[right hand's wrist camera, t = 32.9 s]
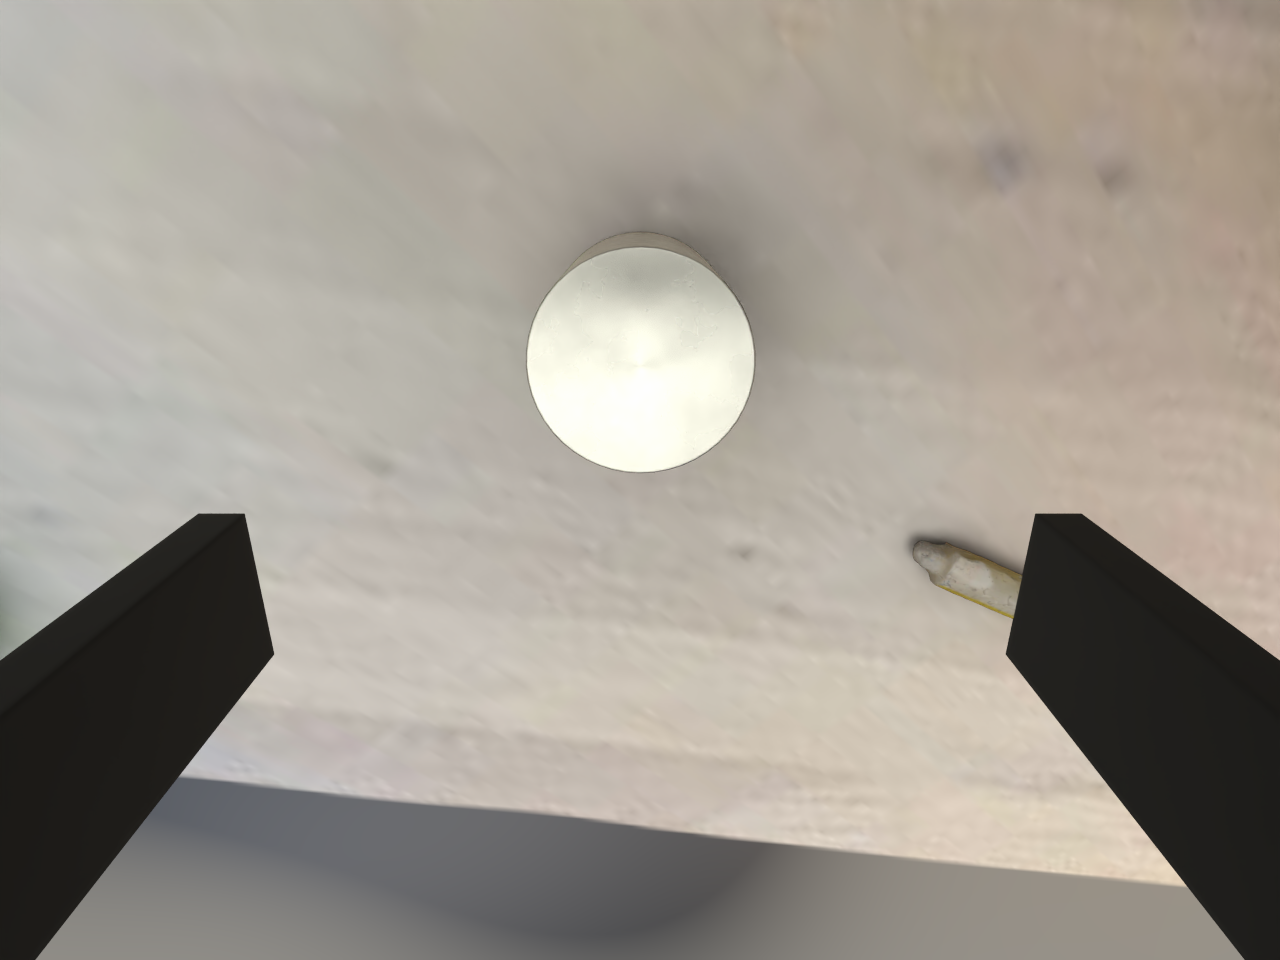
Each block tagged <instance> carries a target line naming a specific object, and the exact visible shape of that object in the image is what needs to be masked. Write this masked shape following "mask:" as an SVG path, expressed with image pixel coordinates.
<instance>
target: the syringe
mask: <svg viewBox="0 0 1280 960" xmlns="http://www.w3.org/2000/svg"><path fill="white" fill-rule="evenodd" d="M913 558H914V560H915V561H916V562H918V563H919V564H920V565H921V566H922V567H923V568H925V569H926V570H927V571H928V573H929V576H930V580H931V582H932V583H933V584H935V585H936V586H939V587H941V588H943V589H945V590H947V591H949V592H951V593H954V594H956V595H959V596H961V597H963V598H965V599H968V600H970V601H973V602H975V603H977V604H980V605H982V606H984V607H986V608H989V609H991V610H994V611H996V612H998V613H1000V614H1003V615H1005V616H1007V617H1010V618H1012V619H1013V617H1014V613H1015V608H1016V603H1017V598H1018V594H1019V589H1020V584H1021V579H1022V575H1021V574H1018V573H1016V572H1013V571H1011V570H1009V569H1007V568H1004V567H1002V566H1000V565H998V564H996V563H994V562H992V561H990V560H988V559H985V558H983V557H981V556H978V555H975V554H973V553H971V552H969V551H967V550H963V549H960V548H957V547H954V546H952V545H950V544H949V543H947V542H945V544H944V545H937V544H933V543H930V542H927V541H919V542H917V543H916V544H915V546H914V549H913Z"/></svg>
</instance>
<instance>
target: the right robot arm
mask: <svg viewBox="0 0 1280 960" xmlns="http://www.w3.org/2000/svg"><path fill="white" fill-rule="evenodd" d="M273 655H274V651H273V646H272V641H271V636H270V632H269V627H268V622H267V617H266V613H265V608H264V603H263V598H262V594H261V589H260V584H259V579H258V575H257V570H256V565H255V561H254V556H253V551H252V546H251V542H250V537H249V532H248V527H247V523H246V518H245V514H197V515H196V516H195V517H193V518H192V519H191V520H189V521H188V522H187V523H185V524H184V525H183V526H181V527H180V528H178V529H177V530H176V531H174V532H173V533H172V534H170V535H169V536H168V537H166V538H165V539H164V540H162V541H161V542H160V543H158V544H157V545H156V546H154V547H153V548H151V549H150V550H149V551H147V552H146V553H145V554H143V555H142V556H141V557H139V558H138V559H137V560H135V561H134V562H133V563H131V564H130V565H129V566H127V567H126V568H124V569H123V570H122V571H120V572H119V573H118V574H116V575H115V576H114V577H112V578H111V579H110V580H108V581H107V582H106V583H104V584H103V585H102V586H100V587H99V588H97V589H96V590H95V591H93V592H92V593H91V594H89V595H88V596H87V597H85V598H84V599H83V600H81V601H80V602H79V603H77V604H76V605H75V606H73V607H72V608H71V609H69V610H68V611H66V612H65V613H64V614H62V615H61V616H60V617H58V618H57V619H56V620H54V621H53V622H52V623H50V624H49V625H48V626H46V627H45V628H44V629H42V630H41V631H39V632H38V633H37V634H35V635H34V636H33V637H31V638H30V639H29V640H27V641H26V642H25V643H23V644H22V645H21V646H19V647H18V648H17V649H15V650H14V651H12V652H11V653H10V654H8V655H7V656H6V657H4V658H3V659H2V660H0V960H35V959H36V958H37V957H38V956H39V954H40V953H41V952H42V950H43V949H44V948H45V947H46V945H47V944H48V943H49V942H50V940H51V939H52V938H53V936H54V935H55V934H56V933H57V931H58V930H59V929H60V928H61V926H62V925H63V924H64V922H65V921H66V920H67V919H68V917H69V916H70V915H71V913H72V912H73V911H74V910H75V908H76V907H77V906H78V904H79V903H80V902H81V901H82V899H83V898H84V897H85V896H86V894H87V893H88V892H89V890H90V889H91V888H92V887H93V885H94V884H95V883H96V881H97V880H98V879H99V878H100V876H101V875H102V874H103V873H104V871H105V870H106V869H107V867H108V866H109V865H110V864H111V862H112V861H113V860H114V858H115V857H116V856H117V855H118V853H119V852H120V851H121V850H122V848H123V847H124V846H125V844H126V843H127V842H128V841H129V839H130V838H131V837H132V835H133V834H134V833H135V832H136V830H137V829H138V828H139V826H140V825H141V824H142V823H143V821H144V820H145V819H146V818H147V816H148V815H149V814H150V812H151V811H152V810H153V809H154V807H155V806H156V805H157V803H158V802H159V801H160V800H161V798H162V797H163V796H164V794H165V793H166V792H167V791H168V789H169V788H170V787H171V786H172V784H173V783H174V782H175V780H176V779H177V778H178V777H179V775H180V774H181V773H182V772H183V770H184V769H185V768H186V766H187V765H188V764H189V763H190V761H191V760H192V759H193V757H194V756H195V755H196V754H197V752H198V751H199V750H200V749H201V747H202V746H203V745H204V743H205V742H206V741H207V740H208V738H209V737H210V736H211V734H212V733H213V732H214V731H215V729H216V728H217V727H218V726H219V724H220V723H221V722H222V720H223V719H224V718H225V717H226V715H227V714H228V713H229V711H230V710H231V709H232V708H233V706H234V705H235V704H236V702H237V701H238V700H239V699H240V697H241V696H242V695H243V694H244V692H245V691H246V690H247V688H248V687H249V686H250V685H251V683H252V682H253V681H254V679H255V678H256V677H257V676H258V674H259V673H260V672H261V671H262V669H263V668H264V667H265V665H266V664H267V663H268V662H269V660H270V659H271V658H272V656H273ZM1006 655H1007V656H1008V658H1009V659H1010V660H1011V662H1012V663H1013V664H1014V665H1015V667H1016V668H1017V669H1018V671H1019V672H1020V673H1021V674H1022V676H1023V677H1024V678H1025V679H1026V681H1027V682H1028V683H1029V685H1030V686H1031V687H1032V688H1033V690H1034V691H1035V692H1036V694H1037V695H1038V696H1039V697H1040V699H1041V700H1042V701H1043V702H1044V704H1045V705H1046V706H1047V708H1048V709H1049V710H1050V711H1051V713H1052V714H1053V715H1054V717H1055V718H1056V719H1057V720H1058V722H1059V723H1060V724H1061V726H1062V727H1063V728H1064V729H1065V731H1066V732H1067V733H1068V734H1069V736H1070V737H1071V738H1072V740H1073V741H1074V742H1075V743H1076V745H1077V746H1078V747H1079V749H1080V750H1081V751H1082V752H1083V754H1084V755H1085V756H1086V757H1087V759H1088V760H1089V761H1090V763H1091V764H1092V765H1093V766H1094V768H1095V769H1096V770H1097V772H1098V773H1099V774H1100V775H1101V777H1102V778H1103V779H1104V780H1105V782H1106V783H1107V784H1108V786H1109V787H1110V788H1111V789H1112V791H1113V792H1114V793H1115V795H1116V796H1117V797H1118V798H1119V800H1120V801H1121V802H1122V803H1123V805H1124V806H1125V807H1126V809H1127V810H1128V811H1129V812H1130V814H1131V815H1132V816H1133V818H1134V819H1135V820H1136V821H1137V823H1138V824H1139V825H1140V827H1141V828H1142V829H1143V830H1144V832H1145V833H1146V834H1147V835H1148V837H1149V838H1150V839H1151V841H1152V842H1153V843H1154V844H1155V846H1156V847H1157V848H1158V850H1159V851H1160V852H1161V853H1162V855H1163V856H1164V857H1165V858H1166V860H1167V861H1168V862H1169V864H1170V865H1171V866H1172V867H1173V869H1174V870H1175V871H1176V873H1177V874H1178V875H1179V876H1180V878H1181V879H1182V880H1183V881H1184V883H1185V884H1186V885H1187V887H1188V888H1189V889H1190V890H1191V892H1192V893H1193V894H1194V896H1195V897H1196V898H1197V899H1198V901H1199V902H1200V903H1201V904H1202V906H1203V907H1204V908H1205V910H1206V911H1207V912H1208V913H1209V915H1210V916H1211V917H1212V919H1213V920H1214V921H1215V922H1216V924H1217V925H1218V926H1219V928H1220V929H1221V930H1222V931H1223V932H1224V934H1225V935H1226V936H1227V938H1228V939H1229V940H1230V942H1231V943H1232V944H1233V945H1234V947H1235V948H1236V949H1237V951H1238V952H1239V953H1240V954H1241V956H1242V957H1243V958H1244V959H1245V960H1280V660H1278V659H1277V658H1276V657H1274V656H1273V655H1272V654H1270V653H1269V652H1268V651H1266V650H1265V649H1263V648H1262V647H1261V646H1259V645H1258V644H1257V643H1255V642H1254V641H1253V640H1251V639H1250V638H1249V637H1247V636H1246V635H1245V634H1243V633H1242V632H1241V631H1239V630H1238V629H1236V628H1235V627H1234V626H1232V625H1231V624H1230V623H1228V622H1227V621H1226V620H1224V619H1223V618H1222V617H1220V616H1219V615H1218V614H1216V613H1215V612H1214V611H1212V610H1211V609H1209V608H1208V607H1207V606H1205V605H1204V604H1203V603H1201V602H1200V601H1199V600H1197V599H1196V598H1195V597H1193V596H1192V595H1191V594H1189V593H1188V592H1187V591H1185V590H1184V589H1183V588H1181V587H1180V586H1178V585H1177V584H1176V583H1174V582H1173V581H1172V580H1170V579H1169V578H1168V577H1166V576H1165V575H1164V574H1162V573H1161V572H1160V571H1158V570H1157V569H1156V568H1154V567H1153V566H1151V565H1150V564H1149V563H1147V562H1146V561H1145V560H1143V559H1142V558H1141V557H1139V556H1138V555H1137V554H1135V553H1134V552H1133V551H1131V550H1130V549H1129V548H1127V547H1126V546H1124V545H1123V544H1122V543H1120V542H1119V541H1118V540H1116V539H1115V538H1114V537H1112V536H1111V535H1110V534H1108V533H1107V532H1106V531H1104V530H1103V529H1102V528H1100V527H1099V526H1097V525H1096V524H1095V523H1093V522H1092V521H1091V520H1089V519H1088V518H1087V517H1085V516H1084V515H1083V514H1035V518H1034V523H1033V527H1032V532H1031V537H1030V542H1029V546H1028V551H1027V556H1026V561H1025V565H1024V570H1023V575H1022V579H1021V584H1020V589H1019V594H1018V598H1017V603H1016V608H1015V613H1014V617H1013V622H1012V627H1011V632H1010V636H1009V641H1008V646H1007V651H1006Z"/></svg>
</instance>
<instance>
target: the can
mask: <svg viewBox="0 0 1280 960" xmlns="http://www.w3.org/2000/svg"><path fill="white" fill-rule="evenodd" d="M526 370H527V378H528V383H529V387H530V391H531V395H532V397H533V400H534V402H535V405H536V407H537V409H538V411H539V413H540V415H541V416H542V418H543V420H544V422H545V423H546V424H547V426H548V427H549V428H550V430H551V431H552V432H553V433H554V434H555V435H556V436H557V438H558V439H559V440H560V441H561V442H562V443H563V444H565V445H566V446H567V447H568V448H570V449H571V450H572V451H573V452H575V453H576V454H578V455H580V456H581V457H583V458H585V459H586V460H588V461H591V462H593V463H595V464H597V465H599V466H603V467H606V468H609V469H612V470H617V471H623V472H631V473H651V472H659V471H664V470H669V469H672V468H676V467H679V466H682V465H684V464H687V463H689V462H691V461H693V460H695V459H697V458H699V457H700V456H702V455H703V454H705V453H707V452H708V451H709V450H711V449H712V448H713V447H714V446H716V445H717V444H718V443H719V442H720V441H721V440H722V439H723V438H724V437H725V436H726V435H727V434H728V433H729V432H730V430H731V429H732V428H733V426H734V425H735V424H736V422H737V421H738V419H739V417H740V415H741V414H742V412H743V410H744V408H745V406H746V403H747V401H748V399H749V396H750V393H751V389H752V385H753V381H754V374H755V345H754V338H753V334H752V330H751V327H750V323H749V320H748V318H747V316H746V313H745V311H744V309H743V307H742V305H741V304H740V302H739V300H738V299H737V297H736V295H735V294H734V293H733V291H732V290H731V289H730V288H729V287H728V285H727V284H726V283H725V282H724V281H723V279H722V278H721V277H720V276H719V275H718V274H717V273H716V272H715V270H714V269H713V268H712V267H711V266H710V265H709V264H708V263H707V261H706V260H705V259H704V258H703V257H701V256H700V255H699V254H698V253H697V252H696V251H695V250H693V249H692V248H690V247H689V246H688V245H686V244H684V243H682V242H680V241H678V240H676V239H674V238H671V237H668V236H665V235H661V234H656V233H649V232H632V233H625V234H620V235H616V236H613V237H610V238H608V239H605V240H603V241H601V242H599V243H597V244H595V245H594V246H592V247H591V248H589V249H588V250H587V251H585V252H584V253H583V254H582V255H581V256H580V257H579V258H578V259H577V260H576V261H575V262H574V263H573V264H572V265H571V266H570V267H569V269H568V270H567V271H566V272H565V273H564V274H563V275H562V277H561V278H560V279H559V280H558V281H557V282H556V284H555V285H554V286H553V287H552V288H551V290H550V291H549V292H548V293H547V295H546V296H545V298H544V300H543V301H542V303H541V304H540V306H539V308H538V310H537V312H536V315H535V317H534V319H533V321H532V325H531V328H530V332H529V335H528V342H527V349H526Z"/></svg>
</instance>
